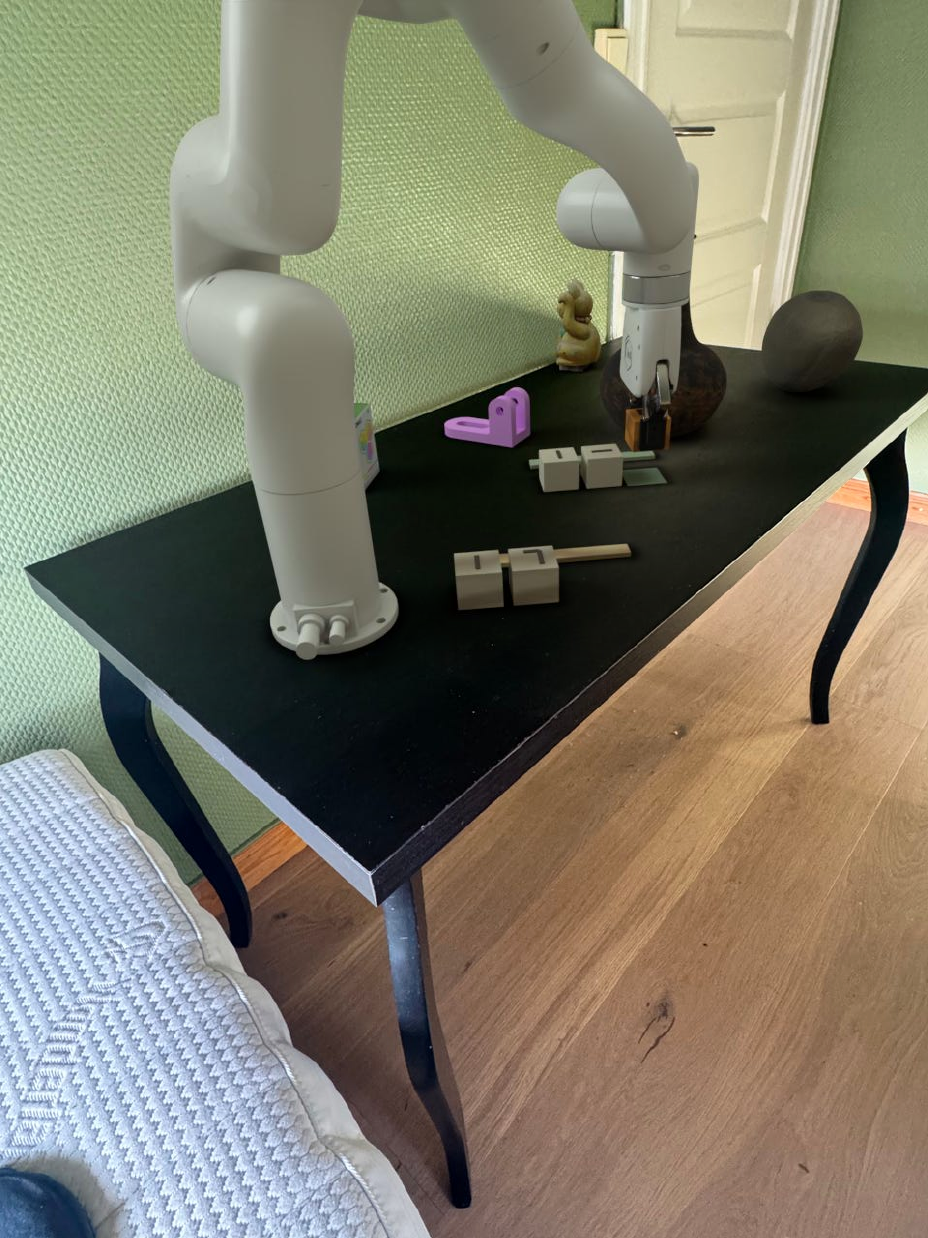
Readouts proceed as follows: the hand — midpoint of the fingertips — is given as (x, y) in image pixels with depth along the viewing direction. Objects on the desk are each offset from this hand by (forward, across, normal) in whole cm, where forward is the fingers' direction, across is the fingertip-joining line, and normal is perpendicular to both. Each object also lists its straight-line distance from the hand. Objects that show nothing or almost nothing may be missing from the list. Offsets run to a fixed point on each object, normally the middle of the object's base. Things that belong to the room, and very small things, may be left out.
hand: (646, 440), depth 97 cm
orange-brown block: (+1, 0, 0) cm, 1 cm away
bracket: (+5, -20, -20) cm, 28 cm away
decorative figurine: (+5, -52, 0) cm, 52 cm away
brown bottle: (+5, -17, +6) cm, 19 cm away
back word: (+5, -2, -6) cm, 8 cm away
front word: (+5, +23, -16) cm, 29 cm away
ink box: (+5, -6, -38) cm, 38 cm away
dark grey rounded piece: (+5, -28, +32) cm, 43 cm away
